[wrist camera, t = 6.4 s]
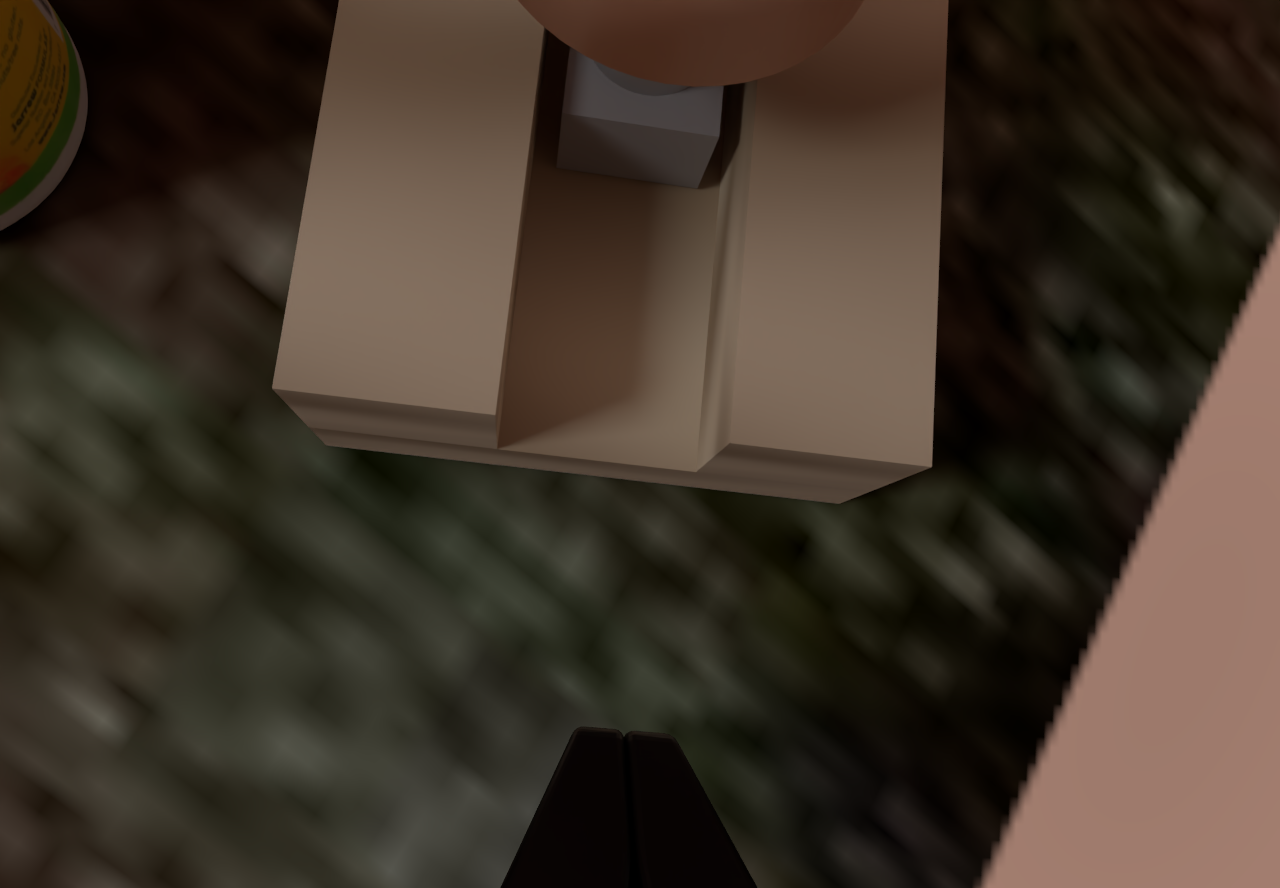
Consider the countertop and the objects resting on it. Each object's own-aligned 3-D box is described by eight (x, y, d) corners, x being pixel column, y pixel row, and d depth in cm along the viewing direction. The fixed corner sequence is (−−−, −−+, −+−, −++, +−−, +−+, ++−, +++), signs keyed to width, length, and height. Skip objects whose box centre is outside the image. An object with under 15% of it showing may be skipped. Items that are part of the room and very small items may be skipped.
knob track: (839, 503, 18) (931, 466, 14) (326, 445, 17) (271, 387, 13) (863, 52, 20) (951, -91, 16) (401, -24, 19) (372, -197, 15)
